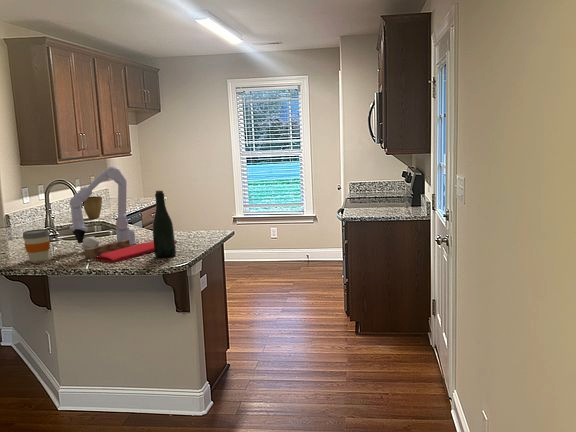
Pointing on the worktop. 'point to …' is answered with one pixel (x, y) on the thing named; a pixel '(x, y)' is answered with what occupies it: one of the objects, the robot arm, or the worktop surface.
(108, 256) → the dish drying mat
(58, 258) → the worktop surface
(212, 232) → the worktop surface
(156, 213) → the dark green wine bottle
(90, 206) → the plant pot
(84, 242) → the die
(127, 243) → the brown wooden bar
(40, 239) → the reusable coffee cup
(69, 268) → the worktop surface
